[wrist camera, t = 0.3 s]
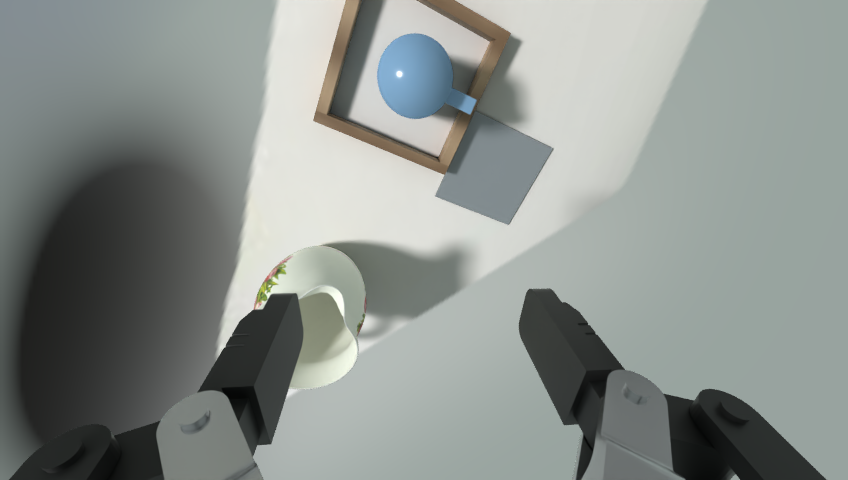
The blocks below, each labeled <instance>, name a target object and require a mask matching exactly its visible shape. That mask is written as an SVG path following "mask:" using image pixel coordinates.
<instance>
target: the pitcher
mask: <svg viewBox="0 0 848 480" xmlns="http://www.w3.org/2000/svg"><path fill="white" fill-rule="evenodd" d="M273 293H296V294H297V295H298V299H299V305H300V311H301V317H302V323H303V332H304V334H303V344H302V348H301V351H300V354H299V357H298V360H297V364H296V367H295V370H294V373H293V376H292V379H291V383H290V386H289V389H314V388H319V387H323V386H326V385H329V384H332V383H334V382H336V381H338V380H339V379H341V378H343V377H344V376H345V375H346V374H347V373H348V372H349V371H350V370H351V369H352V368H353V366H354V364H355V363H356V360H357V357H358V351H359V349H358V340H357V335H358V334H359V332H360V330H361V327H362V325H363V322H364V318H365V313H366V290H365V285H364V281H363V278H362V276H361V274H360V271H359V270H358V268H357V266H356V265H355V263H354V262H353V261H352V260H351V259H350V258H349V257H348V256H347V255H346V254H344V253H343V252H341V251H339V250H337V249H335V248H332V247H327V246H313V247H308V248H304V249H302V250H299V251H297V252H295V253H293V254H291V255H289V256H288V257H287V258H285V259H284V260H282V261H281V262H280V263H279V264H278V265H277V266H276V267H275V268H274V269H273V270H272V271H271V272H270V274H269V275H268V276H267V278H266V279H265V280H264V282H263V284H262V286H261V287H260V289H259V292H258V294H257V297H256V300H255V304H254V310H255V309H263V308H264V306H265V304H266V302H267V300H268V298H269V297H270V295H271V294H273Z"/></svg>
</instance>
